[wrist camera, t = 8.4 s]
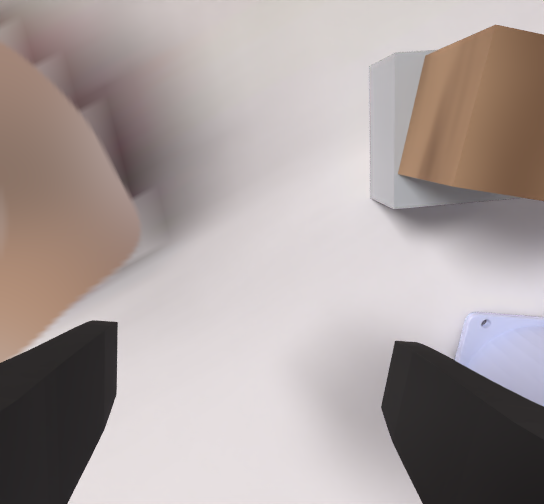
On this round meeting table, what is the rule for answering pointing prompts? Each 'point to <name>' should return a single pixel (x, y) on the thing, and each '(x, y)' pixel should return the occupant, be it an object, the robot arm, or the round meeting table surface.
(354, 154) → the round meeting table surface
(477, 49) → the walnut cube
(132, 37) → the round meeting table surface
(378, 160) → the grey block
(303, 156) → the round meeting table surface
